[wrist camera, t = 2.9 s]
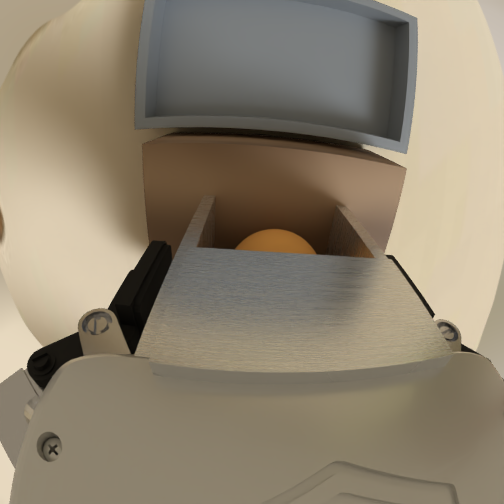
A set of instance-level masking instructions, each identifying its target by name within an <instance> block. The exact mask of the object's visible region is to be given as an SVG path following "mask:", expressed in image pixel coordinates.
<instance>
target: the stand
mask: <svg viewBox="0 0 504 504" xmlns="http://www.w3.org/2000/svg"><path fill="white" fill-rule="evenodd" d="M142 152H143V177H144V193H145V206H146V217H147V227H148V236H149V245H150V243H151V242H152V240H155V241H166V242H167V245H171V250H172V261H173V259H174V257H175V254H176V252H177V250H178V248H179V246H180V243H181V241H182V239H183V237H184V235H185V233H186V231H187V229H188V227H189V224H190V222H191V220H192V218H193V216H194V214H195V212H196V210H197V208H198V206H199V204H200V202H201V200H202V198H203V196H204V195H215V248H216V249H233V250H235V248H236V247H237V246H238V245H239V244H240V243H241V242H242V241H243V240H244V239H245V238H247V237H248V236H250V235H252V234H254V233H256V232H259V231H262V230H267V229H281V230H286V231H290V232H292V233H295V234H296V235H298V236H300V237H302V238H303V239H304V240H306V241H307V242H308V243H309V244H310V246H311V247H312V248H313V249H314V251H315V252H316V254H317V255H326V250H327V246H328V242H329V237H330V232H331V228H332V223H333V218H334V213H335V208H336V205H340V206H346V207H347V208H348V209H349V210H350V211H351V213H352V214H353V215H354V216H355V217H356V219H357V220H358V221H359V222H360V223H361V225H362V226H363V227H364V228H365V230H366V231H367V232H368V233H369V235H370V236H371V237H372V238H373V240H374V241H375V242H376V243H377V245H378V246H379V247H380V249H381V250H382V251H383V253H384V252H385V249H386V246H387V243H388V240H389V236H390V233H391V230H392V226H393V223H394V219H395V215H396V212H397V208H398V204H399V200H400V196H401V192H402V188H403V183H404V179H405V174H406V168H404V167H403V166H401V165H399V164H397V163H395V162H392V161H390V160H388V159H386V158H384V157H382V156H380V155H378V154H375V153H373V152H371V151H369V150H366V149H361V148H355V147H350V146H344V145H339V144H333V143H326V142H320V141H312V140H305V139H297V138H288V137H278V136H267V135H254V134H238V133H208V132H179V133H171V134H168V135H165V136H162V137H160V138H157V139H154V140H152V141H149V142H147V143H144V144H142Z"/></svg>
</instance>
